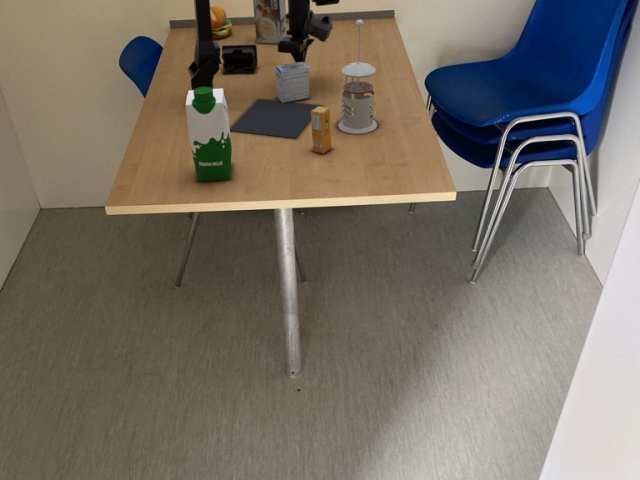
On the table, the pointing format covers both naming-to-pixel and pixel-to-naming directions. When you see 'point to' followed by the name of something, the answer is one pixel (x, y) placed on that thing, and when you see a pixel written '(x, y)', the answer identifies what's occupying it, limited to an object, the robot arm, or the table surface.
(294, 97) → the medicine box
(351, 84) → the french press
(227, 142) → the milk carton
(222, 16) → the cheeseburger
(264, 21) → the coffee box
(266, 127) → the mat
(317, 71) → the table surface
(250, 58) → the end cap
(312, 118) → the supplement box
